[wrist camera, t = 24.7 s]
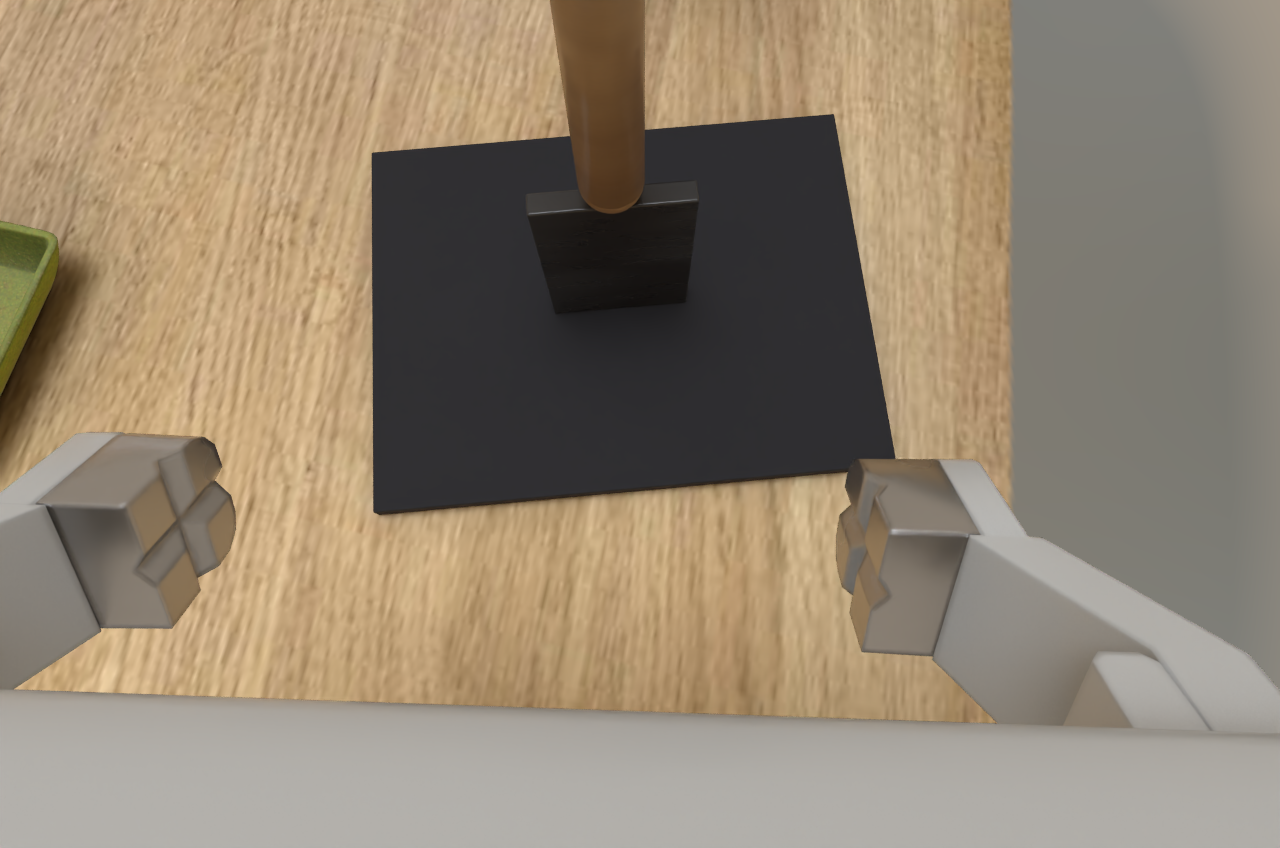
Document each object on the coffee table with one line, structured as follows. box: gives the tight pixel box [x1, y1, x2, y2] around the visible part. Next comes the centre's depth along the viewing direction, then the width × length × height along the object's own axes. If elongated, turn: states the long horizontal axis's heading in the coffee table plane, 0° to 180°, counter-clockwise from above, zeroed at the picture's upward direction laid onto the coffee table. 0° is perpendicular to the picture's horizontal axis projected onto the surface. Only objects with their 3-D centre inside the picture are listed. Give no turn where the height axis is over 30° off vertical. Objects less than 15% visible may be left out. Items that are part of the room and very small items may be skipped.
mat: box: [372, 114, 895, 515], centre depth 29 cm, size 18×14×1 cm
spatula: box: [526, 0, 699, 314], centre depth 18 cm, size 5×2×21 cm, turn 95°
